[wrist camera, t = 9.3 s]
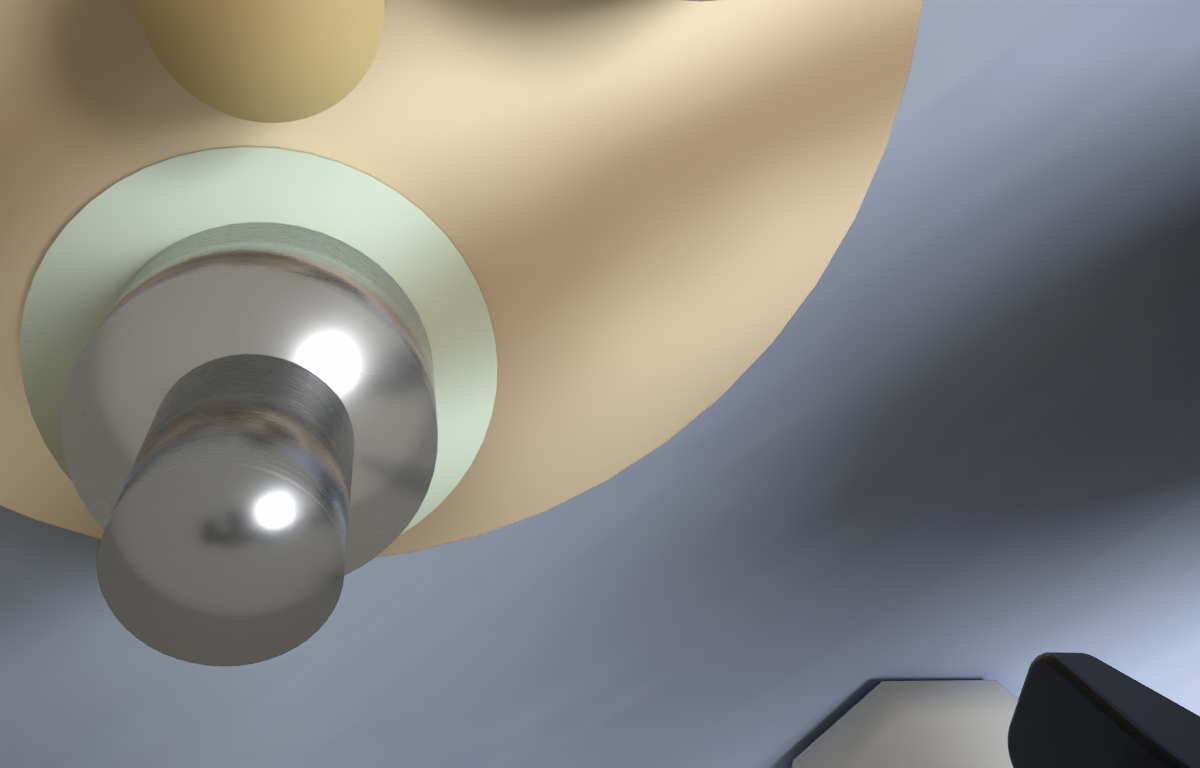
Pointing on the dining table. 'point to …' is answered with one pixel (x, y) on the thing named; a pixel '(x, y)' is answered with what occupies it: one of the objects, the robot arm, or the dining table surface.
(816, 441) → the dining table surface
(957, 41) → the dining table surface
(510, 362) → the carrier plate
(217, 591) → the silver metal knob
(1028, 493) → the dining table surface
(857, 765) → the flask
